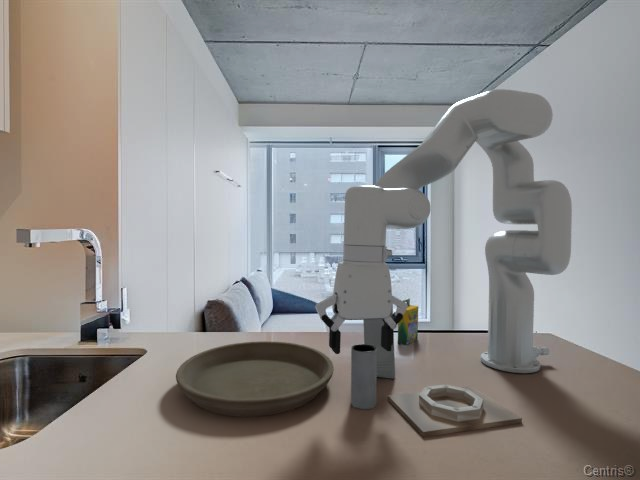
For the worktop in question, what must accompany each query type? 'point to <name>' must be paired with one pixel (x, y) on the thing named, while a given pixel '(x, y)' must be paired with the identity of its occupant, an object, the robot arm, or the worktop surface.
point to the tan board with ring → (451, 410)
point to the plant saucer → (254, 377)
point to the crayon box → (408, 325)
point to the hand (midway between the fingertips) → (361, 350)
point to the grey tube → (363, 376)
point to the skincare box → (380, 348)
